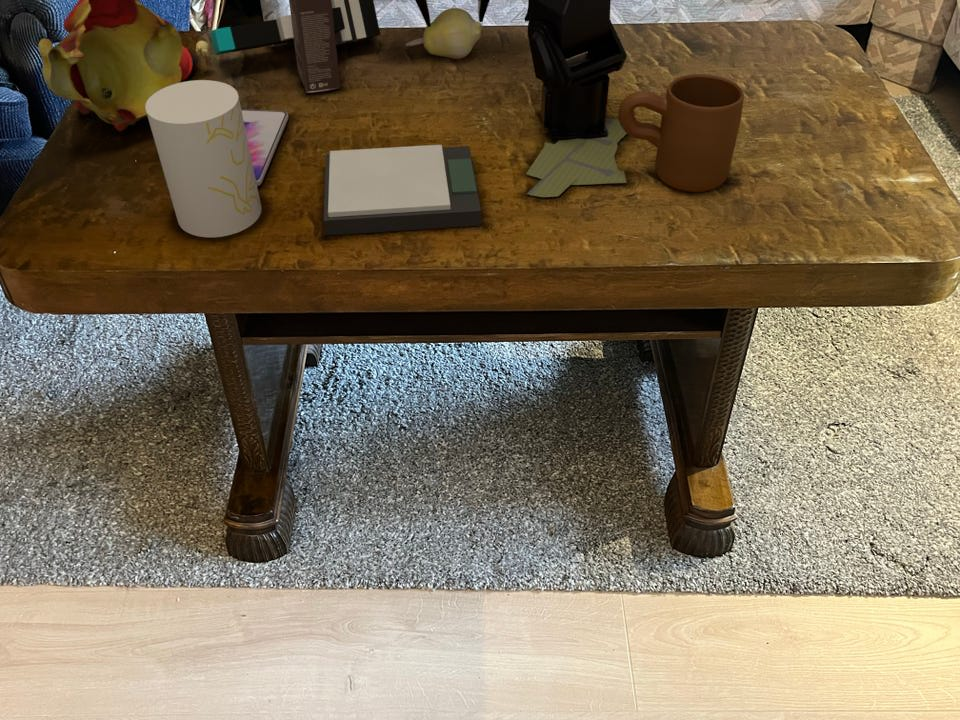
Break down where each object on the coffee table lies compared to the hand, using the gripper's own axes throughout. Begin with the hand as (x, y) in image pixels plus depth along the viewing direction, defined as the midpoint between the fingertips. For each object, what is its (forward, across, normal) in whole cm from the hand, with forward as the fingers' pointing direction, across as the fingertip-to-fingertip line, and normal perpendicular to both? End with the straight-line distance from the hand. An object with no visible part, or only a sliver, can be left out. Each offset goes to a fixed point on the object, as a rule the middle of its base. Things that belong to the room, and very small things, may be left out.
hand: (454, 23), depth 111 cm
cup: (+3, +26, +33) cm, 42 cm away
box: (+3, +17, +6) cm, 19 cm away
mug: (+5, -20, +31) cm, 37 cm away
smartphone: (+3, +25, +22) cm, 33 cm away
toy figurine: (+2, +34, +4) cm, 34 cm away
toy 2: (-1, +30, +2) cm, 30 cm away
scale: (+3, +8, +32) cm, 33 cm away
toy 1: (-3, +33, +17) cm, 38 cm away
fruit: (+4, +2, 0) cm, 4 cm away
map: (+4, -12, +27) cm, 30 cm away
